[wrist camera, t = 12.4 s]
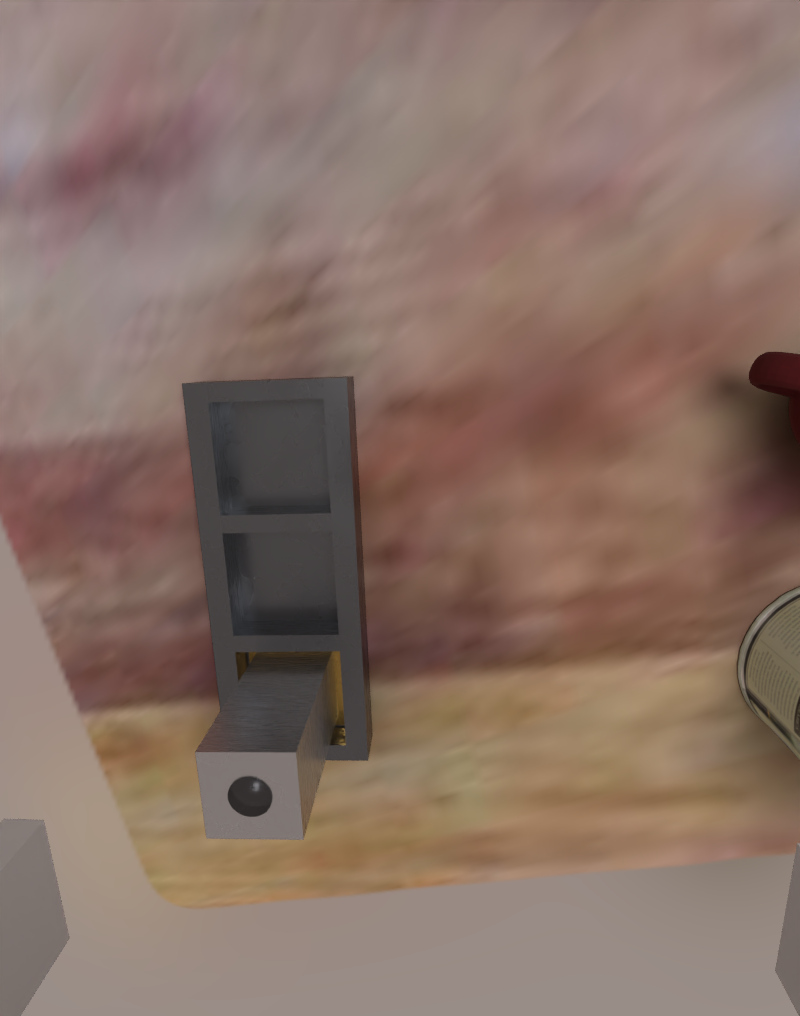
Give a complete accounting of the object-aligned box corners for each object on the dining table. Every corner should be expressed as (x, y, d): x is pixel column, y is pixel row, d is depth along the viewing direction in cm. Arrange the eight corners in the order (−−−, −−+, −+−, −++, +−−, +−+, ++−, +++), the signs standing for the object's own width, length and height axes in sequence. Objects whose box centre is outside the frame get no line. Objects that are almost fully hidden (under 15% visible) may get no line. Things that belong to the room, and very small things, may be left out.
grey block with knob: (259, 648, 37) (194, 753, 27) (333, 647, 36) (295, 753, 26) (265, 715, 38) (206, 839, 28) (337, 715, 37) (303, 840, 28)
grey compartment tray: (198, 382, 34) (179, 383, 31) (353, 376, 33) (346, 377, 31) (237, 734, 39) (224, 759, 36) (372, 735, 38) (368, 760, 36)
